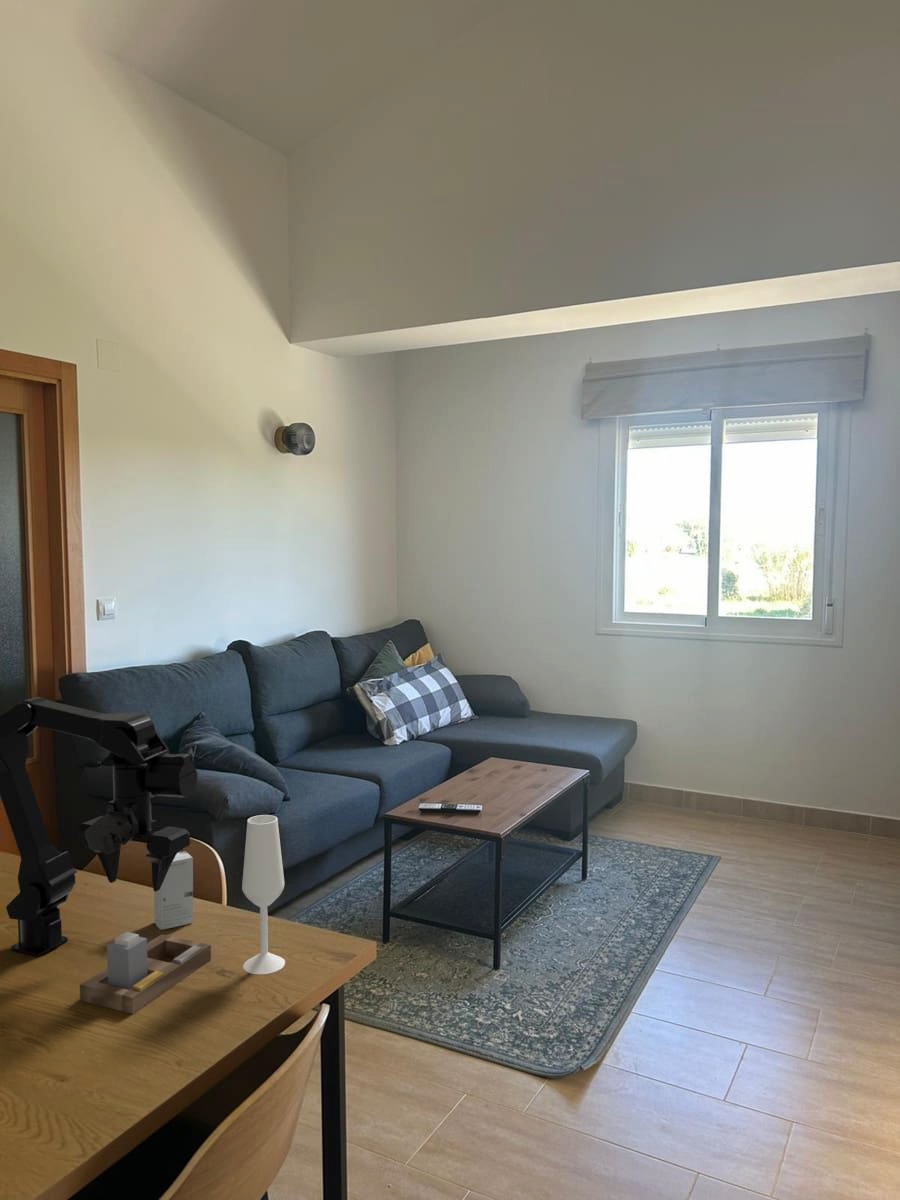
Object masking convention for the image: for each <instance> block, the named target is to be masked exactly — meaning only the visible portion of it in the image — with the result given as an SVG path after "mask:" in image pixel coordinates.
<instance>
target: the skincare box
mask: <svg viewBox="0 0 900 1200" xmlns="http://www.w3.org/2000/svg"><path fill="white" fill-rule="evenodd" d="M193 858H194V857H192V856H191V855H190V854H189V853H188V852H187V851H179V852H177V854H176V856H175V858H174V860H173V861H172V863H171V865H170V867H169V870H168V872H167V874H166V876H165V879H164V881H163V883H162V886H161V888H160V890H158V891H154V890H153V912H154V913H153V922H154V923H155V925H156V927H157V928H158V930H159V931H161V930H162V931H163V930H167V929H171V928H177V927H182V926H185V925H186V926H187V925H190V924H192V923H193V922H194V896H193V895H194V894H193V893H194V878H193V876H194V875H193V874H194V872H193V871H194V866H193V865H194V863H193V862H194V859H193Z"/></svg>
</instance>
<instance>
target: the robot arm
mask: <svg viewBox="0 0 900 1200" xmlns="http://www.w3.org/2000/svg"><path fill="white" fill-rule="evenodd" d="M39 727H40V728H45V729H48V730H52V731H56V732H60V733H63V734H68V735H72V736H77V737H80V738H84V739H87V740H91V742H95V744H97V746H98V747H99V748H101V749H103V750H104V751H107V752H109V753H108V755H107V756H106V757H104V759H103V760H102V761H100V762H99V764H100V766H101V767H112V783H113V800H110V801H108V802H107V806H106V812H105V813H106V814H105V815H100V816H97V817H96V818H95V817H94V818H92V819H89V820H87V821H85V822H81V824H80V826H79V827H78V830H77V842H80V843H83V845H84V847H86V848H89V850H90V851H92V852H93V851H94V852H95V853H96V855H97V857H98V859H99V861H100V863H101V866H102V868H103V870H104V873H105V875H106V878H107V880H108V882H109V883H110V884H113V883H115V882H116V881H117V878H118V873H119V863H120V857H121V856H120V855H121V849H122V848H121V847H122V846H125V845H126V844H127V843H128V842H130V841H132V842H138V843H142V844H143V843H144V844H146V850H147V851H148V852H149V853H148V854H145V857H146V858H147V859H148V861H150V862H151V879H152V887H153V888H152V889H153V892H154V891H158V890H160V888H161V886H162V883H163V881H164V879H165V876H166V874H167V872H168V870H169V867H170V865H171V863H172V861H173V860H174V858H175V856H176V854H177V853H179V852H182V851H183V850H184V849H185V848H187V847H189V846H190V845H191V839H190V838H191V836H190V834H191V833H190V832H189V831H188V830H187V829H186V828H182V827H177V826H176V827H175V826H169V825H168V826H166V827H164V828H162V829H160V830H158V831H153V830H152V829H153V828H156V827H157V826H158V823H157V822H158V821H157V819H152V804H154V803H157V796H158V797H159V796H161V797H173V798H174V797H176V798H190V797H191V795H193V793H194V792H195V789H196V787H197V783H198V771H197V769H196V766H195V764H194V763H193V762H192V761H191V755H190V753H178V754H176V753H175V754H174V753H170V748H169V747H168V746H167V744H166V742H165V741H164V740H163V738H162V737H161V735H160V734H159V732H158V731H157V730H156V728H155V724H154V722H153V721H152V718H151V717H150V716H149V715H147V714H144V713H135V712H133V713H132V712H131V713H130V712H122V713H121V712H119V713H103V712H100V711H99V712H98V711H93V710H90V709H86V708H83V707H78V706H74V705H70V704H65V703H60V702H58V701H57V702H56V701H53V700H49V699H47V698H44V697H41V696H36V697H34V698H29V699H25V700H22V701H19V702H18V703H17V704H16V705H14V706H13V707H12V708H10V709H9V710H8V711H6V712H4V713H3V714H1V715H0V800H1V803H2V805H3V808H4V811H5V814H6V817H7V821H8V823H9V826H10V830H11V832H12V835H13V837H14V841H15V843H16V844H15V845H16V847H17V850H18V852H19V856H20V862H19V867H18V874H17V883H18V888H19V892H18V894H17V895H16V896H15V897H14V898H13V899H12V900H11V901H10V902H9V903H8V904H7V905H6V907H5V910H6V912H7V915H8V918H9V919H11V920H17V935H18V937H17V939H18V941H17V943H14V944H13V945H12V944H11V946H10V950H11V951H14V952H15V951H16V952H19V953H23V954H28V955H33V956H37V957H38V956H39V957H40V956H41V955H43V954H45V953H48V952H50V951H51V950H53V949H54V948H57V947H59V946H60V945H62V944H64V943H66V942H68V940H69V937H68V936H64V935H63V934H62V933H63V932H62V928H63V927H62V918H61V909H60V908H59V905H61V904H63V903H65V902H67V900H68V897H69V895H70V893H71V892H72V890H73V889H74V886H75V884H76V876H75V874H76V873H78V872H77V869H76V868H75V867H74V864H73V862H72V857H71V854H70V852H69V851H68V850H66V851H64V852H60V851H59V850H58V849H57V848H55V847H54V846H53V844H52V841H51V839H50V837H49V833H48V830H47V827H46V824H45V821H44V818H43V815H42V812H41V809H40V806H39V804H38V800H37V798H36V794H35V792H34V789H33V788H34V787H33V785H32V782H31V781H30V777H29V772H28V771H27V767H26V765H27V764H26V763H27V758H28V753H29V743H28V736H29V735H30V734H31V733H33V732H34V731H36V729H37V728H39ZM145 748H148V749H145ZM143 749H145V750H143ZM141 750H143V751H141Z"/></svg>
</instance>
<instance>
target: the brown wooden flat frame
mask: <svg viewBox="0 0 900 1200" xmlns="http://www.w3.org/2000/svg"><path fill="white" fill-rule="evenodd" d="M165 956H169V957H174V958H173V959H172V961H170V962H168V961H164V960H160V959H162V958H163V957H165ZM211 960H212V945H211V944H210V943H203V942H201V941H194V940H191V939H184V938H181V937H176V936H171V935H167V934H160V935H158V936H157V937H156V938H153V939H152V940H151V941H148V942H147V969H148V976H147V977H146V978H144V979H143V980H141V981H139V982H138V983H136V984H135V985H133V988H131V989H130V990H127V989H123V988H119V987H115V986H111V985H108V966H107V967H105V968H104V969H102V970H101V971H99V972H97V973H96V974H95V975H93V976H91V977H89V978H88V979H86V980H84V981H83V982H81V983H80V984H79V996H80V997H79V1000H80V1001H81V1002H85V1003H87V1004H88V1003H89V1004H93V1005H96V1006H101V1007H104V1008H108V1009H111V1010H115V1011H119V1012H123V1013H127V1014H129V1015H130V1014H131V1015H135V1013H137V1012H139V1011H140V1010H141V1009H143V1008H144V1007H145V1006H148V1004H149V1003H152V1001H154V1000H155V999H157V998H158V997H160V996H161V995H162V994H164V993H166V992H167V991H169V989H172V988H173V987H174V986H176V985H177V984H178V983H179V982H181V981H183V980H184V979H185V978H187V977H188V976H190V975H191V974H193V973H194V972H196V971H197V970H199V969H200V968H201V967H203V966H204V965H206V964H207V963H209V961H211Z"/></svg>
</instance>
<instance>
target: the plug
mask: <svg viewBox="0 0 900 1200" xmlns="http://www.w3.org/2000/svg"><path fill="white" fill-rule="evenodd" d="M147 943H148V939H147V937H142V936H140V935H139V934H137V933H133V932H128V931H126V932H124V933H122V934H120V935H118V936H117V937H115V939H114V940H113V941H112V942H110V943H107V945H106V947H107V948H106V951H107V952H106V953H107V954H106V955H107V956H106V957H107V958H106V959H107V960H106V961H107V967H108V985H111V986H115V987H119V988H123V989H127V990H130V989H131V988H133V985H135V984H136V983H138V982H139V981H141V980H143V979H144V978H146V977H147V976H148V969H147Z"/></svg>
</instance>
